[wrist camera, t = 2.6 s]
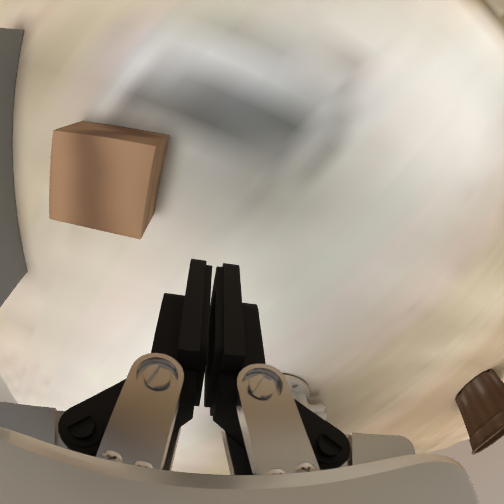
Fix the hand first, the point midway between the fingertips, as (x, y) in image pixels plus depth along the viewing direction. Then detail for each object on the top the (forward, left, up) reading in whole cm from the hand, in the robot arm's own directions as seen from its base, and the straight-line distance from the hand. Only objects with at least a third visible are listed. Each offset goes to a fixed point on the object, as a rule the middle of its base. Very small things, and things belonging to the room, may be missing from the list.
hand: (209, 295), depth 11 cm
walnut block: (+9, 0, -16) cm, 18 cm away
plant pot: (-65, +34, -16) cm, 75 cm away
